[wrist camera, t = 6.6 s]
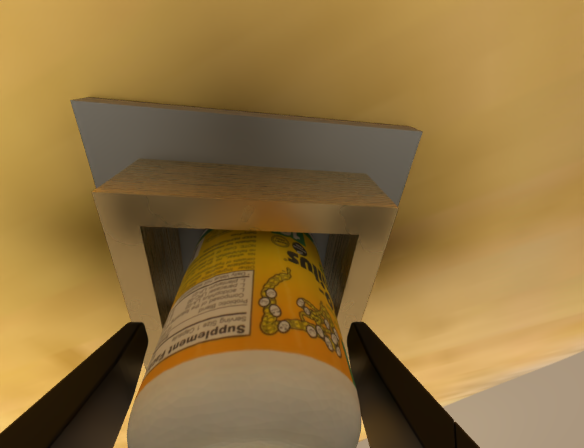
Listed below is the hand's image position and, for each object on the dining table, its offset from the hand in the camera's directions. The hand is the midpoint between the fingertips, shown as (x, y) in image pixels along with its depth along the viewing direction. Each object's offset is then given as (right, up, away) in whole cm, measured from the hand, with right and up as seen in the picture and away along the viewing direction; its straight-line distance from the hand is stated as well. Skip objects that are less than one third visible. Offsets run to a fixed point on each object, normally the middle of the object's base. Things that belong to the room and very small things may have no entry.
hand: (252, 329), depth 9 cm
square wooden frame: (0, +2, +4) cm, 5 cm away
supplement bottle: (0, +2, +4) cm, 4 cm away
